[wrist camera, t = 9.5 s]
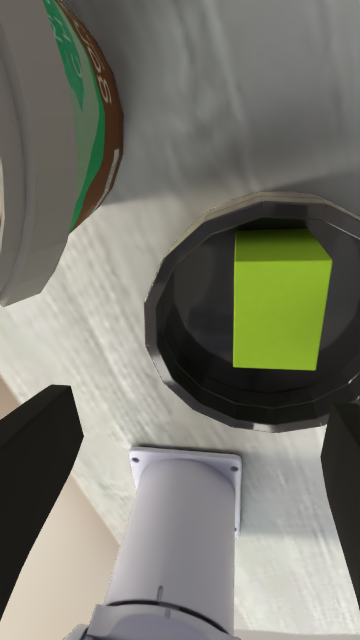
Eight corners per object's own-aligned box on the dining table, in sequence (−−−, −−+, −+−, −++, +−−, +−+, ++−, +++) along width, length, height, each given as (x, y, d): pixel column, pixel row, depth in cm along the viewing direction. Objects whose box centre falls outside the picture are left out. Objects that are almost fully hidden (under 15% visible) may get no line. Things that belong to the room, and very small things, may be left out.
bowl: (435, 322, 16) (471, 357, 14) (247, 422, 21) (248, 461, 19) (295, 128, 14) (308, 125, 11) (115, 295, 19) (95, 320, 16)
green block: (298, 317, 17) (315, 371, 13) (234, 316, 17) (233, 367, 14) (308, 227, 15) (333, 259, 11) (235, 230, 15) (234, 261, 11)
